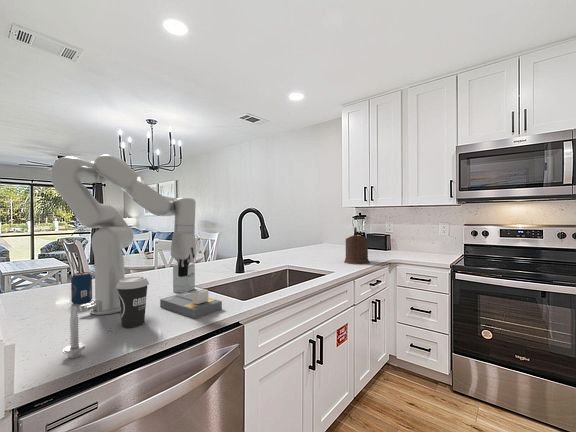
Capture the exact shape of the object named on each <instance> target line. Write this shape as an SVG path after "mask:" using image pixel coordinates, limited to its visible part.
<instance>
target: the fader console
mask: <svg viewBox="0 0 576 432" xmlns="http://www.w3.org/2000/svg"><path fill="white" fill-rule="evenodd" d="M159 299H160V300H159V305H160V306H159V307H160V308H162V309H165V310H168V311H171V312H175V313H177V314H180V315H183V316H186V317H189V318H192V319H195V320H196V319H198V318H202V317H205V316H206V315H210V314H212V313H215V312H218V311H221V310H222V309H223V301H222V300H218V299H214V298H211V297H208V301H206V302H203V303H200V304H195V303H192V292H190V291H189V292H185V293H184V292H180V293H178V294H175V295H171V296H166V297H164V298H159Z"/></svg>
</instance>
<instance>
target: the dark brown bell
mask: <svg viewBox="0 0 576 432" xmlns="http://www.w3.org/2000/svg"><path fill="white" fill-rule="evenodd" d="M357 229H358V228H357V226H356V227H354V228H353V232H354V233H353V235H351V236H348V238H345V260H344V261H343V263H344V264H349V265H359V266H361V265H369V264H370V260H369V258H368V257H369V255H368V253H369V248H368V247H369V239H368V238H367V237H366V236H364V235H359V234H358V233H357V232H358V231H357Z"/></svg>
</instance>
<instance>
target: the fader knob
mask: <svg viewBox="0 0 576 432" xmlns="http://www.w3.org/2000/svg"><path fill="white" fill-rule="evenodd" d="M191 293H192V303H195V304H200V303H203V302H206V301H208V298H209V290H208V289H206V288H201V289H198V290H195V291H191Z"/></svg>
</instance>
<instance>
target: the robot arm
mask: <svg viewBox="0 0 576 432" xmlns="http://www.w3.org/2000/svg"><path fill="white" fill-rule="evenodd" d="M50 179H51V184H52V185H53V187H54V188H55V190H56V192H57V193H58V194H59V195H60V196H61V198H62V199H63V200H64V201H65V203H66V204H67V205H68V207H69V209H70V210H71V211H72V213H73V214H74V216H75V217H76V218H77V219H78V221H79V222H80V223H81V224H82V226H84V227H86V228H89V229H98V230H95V232H94V233H93V235H92V237H91V248H92V252H93V259H94V295H95V297H94V298H92V299H91V301H90V302H89V303H86V304H81V305H79V311H85V310H86V311H90V313H91V314H92V315H95V316H96V315H97V316H100V315H101V316H102V315H103V316H104V315H110V314H111V315H113V314H115V313H119V312H120V303H119V295H118V289H117V288H116V285H117V283H118V282H119V280H120V279H123V278H125V259H124V258H125V257H124V254H123V251H122V249H126V248H128V247H129V246H131V245H132V243H133V241H134V233H133V231H132V229H131V227H130V226H129V224H128V223H127V222H126V221H125V219H124V218H123V217H122V215H121V213H119V211H118V210H117V209H116V208H115V207H113V206H112V205H110V204H106V203H100V202H99V201H98V200H97V199H96V198H95V196H93V194H92V192H91V191H90V190H89V188H87V186H85V185H84V184H83V183H87V184H88V183H89V184H90V183H91V184H92V183H103V182H110V183H111V184H113V185H114V186H116V187H118V188H119V189H120V190H122V191H123V192H125V193H126V194H127V196H128V197H129V198H131V200H133V202H135V203H136V204H137V205H139V206H140V207H141V208H143V209H144V210H146V211H148V212H149V213H151V214H152V215H155V216H157V217H158V216H159V217H169V216H170V217H171V216H174V223H173V224H174V229H173V234H172V237H171V246H170V256H171V258H173V259H174V261H176V264H178V276H179V277H185V276H188V266H189V263H194V259H195V258H196V252H197V250H196V248H197V247H196V235H195V231H196V230H195V228H196V209H197V208H196V207H197V206H196V204H197V203H196V202H197V201H196V200H195V199H194V198H190V197H177V198H176V197H169V196H165V195H162V194H160V193H159V192H158V191H156V190H154V189H153V188H152V187H151V186H149V185H148V184H147V183H146V182H145V180H144V177H143V175H141V174H140V173H138V171H135V170H134V169H132V168H131V167H129V164H128V163H127V162H126V161H125V160H123V159H121V158H118V157H116V156H114V155H110V154H101V155H99V156H98V157H96V158H95V160H94V161H89V160H85V159H82V158H79V157H74V156H63V157H59V158H58V159H56V161H54V163H53V165H52V166H51V169H50ZM120 313H121V312H120Z"/></svg>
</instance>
